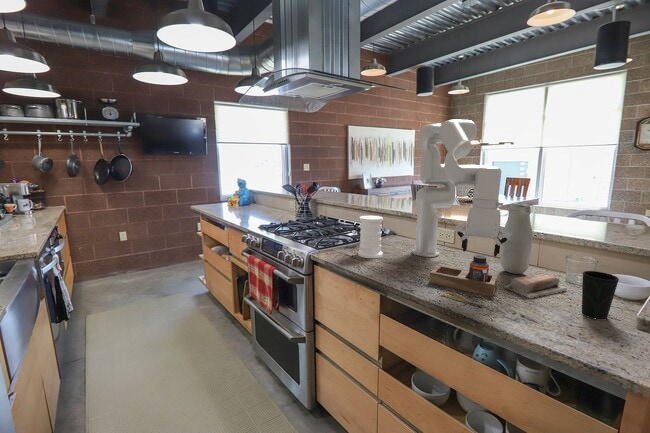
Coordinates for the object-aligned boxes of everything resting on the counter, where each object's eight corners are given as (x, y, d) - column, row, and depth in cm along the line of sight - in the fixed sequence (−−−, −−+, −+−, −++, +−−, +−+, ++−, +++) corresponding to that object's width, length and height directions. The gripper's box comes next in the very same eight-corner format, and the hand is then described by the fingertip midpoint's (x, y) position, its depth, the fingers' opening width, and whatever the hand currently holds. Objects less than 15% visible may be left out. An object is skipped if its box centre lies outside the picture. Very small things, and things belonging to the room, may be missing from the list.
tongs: (481, 311, 94) (481, 304, 94) (440, 299, 104) (441, 293, 104) (487, 307, 97) (487, 300, 97) (447, 295, 107) (447, 289, 107)
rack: (437, 274, 123) (437, 264, 123) (496, 286, 112) (497, 275, 111) (429, 283, 115) (429, 272, 114) (492, 296, 103) (493, 285, 102)
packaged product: (532, 286, 101) (504, 275, 110) (530, 300, 102) (503, 289, 111) (569, 278, 107) (540, 269, 116) (567, 292, 108) (538, 282, 117)
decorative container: (387, 256, 147) (388, 218, 144) (365, 259, 142) (366, 220, 139) (374, 250, 157) (375, 214, 154) (353, 252, 153) (354, 216, 150)
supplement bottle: (489, 291, 107) (492, 259, 105) (470, 290, 108) (472, 258, 106) (484, 285, 113) (486, 254, 111) (466, 283, 114) (468, 253, 112)
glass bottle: (530, 272, 126) (538, 202, 121) (524, 279, 119) (533, 205, 114) (502, 266, 133) (509, 200, 128) (495, 272, 125) (502, 203, 121)
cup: (570, 309, 94) (575, 271, 92) (594, 308, 95) (600, 270, 93) (594, 322, 87) (600, 280, 85) (619, 321, 87) (626, 280, 85)
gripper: (515, 205, 104) (509, 254, 107) (459, 200, 113) (455, 246, 117) (514, 208, 98) (507, 260, 101) (455, 203, 107) (450, 251, 111)
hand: (479, 253), depth 109 cm, fingers open, 9 cm apart
